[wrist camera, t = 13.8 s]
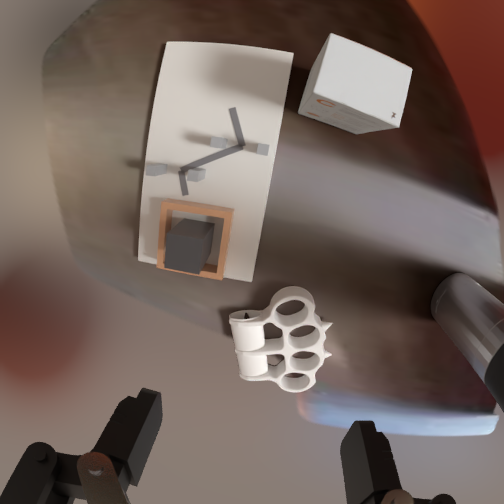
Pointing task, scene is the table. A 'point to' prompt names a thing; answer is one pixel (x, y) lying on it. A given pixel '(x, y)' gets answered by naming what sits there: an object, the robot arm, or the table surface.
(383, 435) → the robot arm
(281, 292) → the white brass knuckles
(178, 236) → the dark grey block
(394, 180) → the table surface
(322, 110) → the small box
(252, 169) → the board
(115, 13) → the table surface
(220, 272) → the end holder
